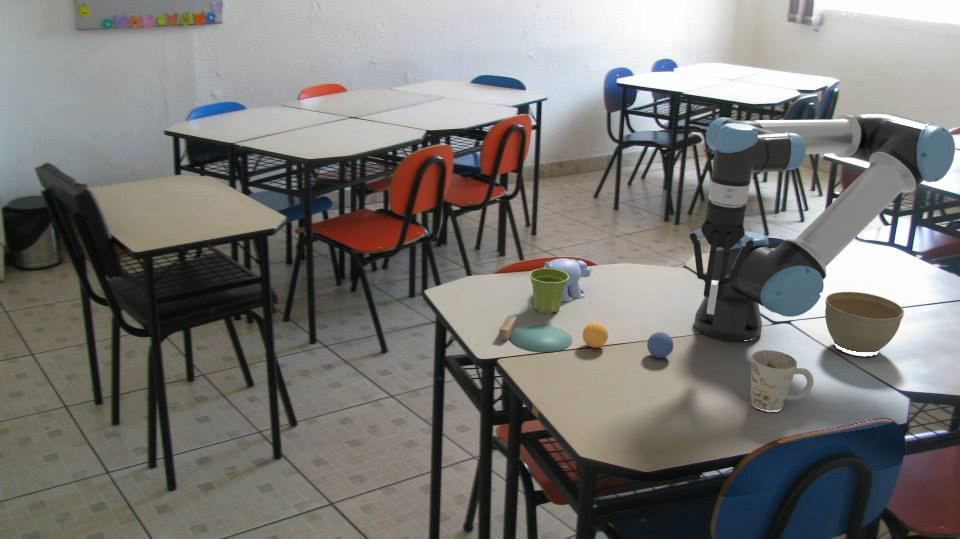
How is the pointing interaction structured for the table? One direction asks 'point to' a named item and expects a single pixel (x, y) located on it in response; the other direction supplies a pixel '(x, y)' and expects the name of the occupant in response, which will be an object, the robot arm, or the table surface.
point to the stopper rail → (507, 328)
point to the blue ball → (660, 344)
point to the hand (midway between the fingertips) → (710, 311)
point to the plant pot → (548, 288)
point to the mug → (774, 379)
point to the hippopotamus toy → (570, 275)
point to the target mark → (540, 338)
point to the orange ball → (595, 335)
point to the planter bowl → (862, 320)
